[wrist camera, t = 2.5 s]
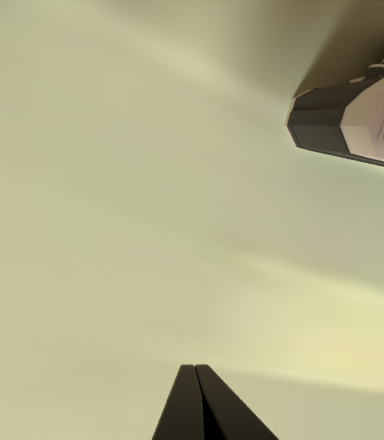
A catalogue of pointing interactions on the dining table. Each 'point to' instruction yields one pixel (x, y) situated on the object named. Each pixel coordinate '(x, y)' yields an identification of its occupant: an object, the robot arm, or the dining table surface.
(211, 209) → the dining table surface
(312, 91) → the camera
